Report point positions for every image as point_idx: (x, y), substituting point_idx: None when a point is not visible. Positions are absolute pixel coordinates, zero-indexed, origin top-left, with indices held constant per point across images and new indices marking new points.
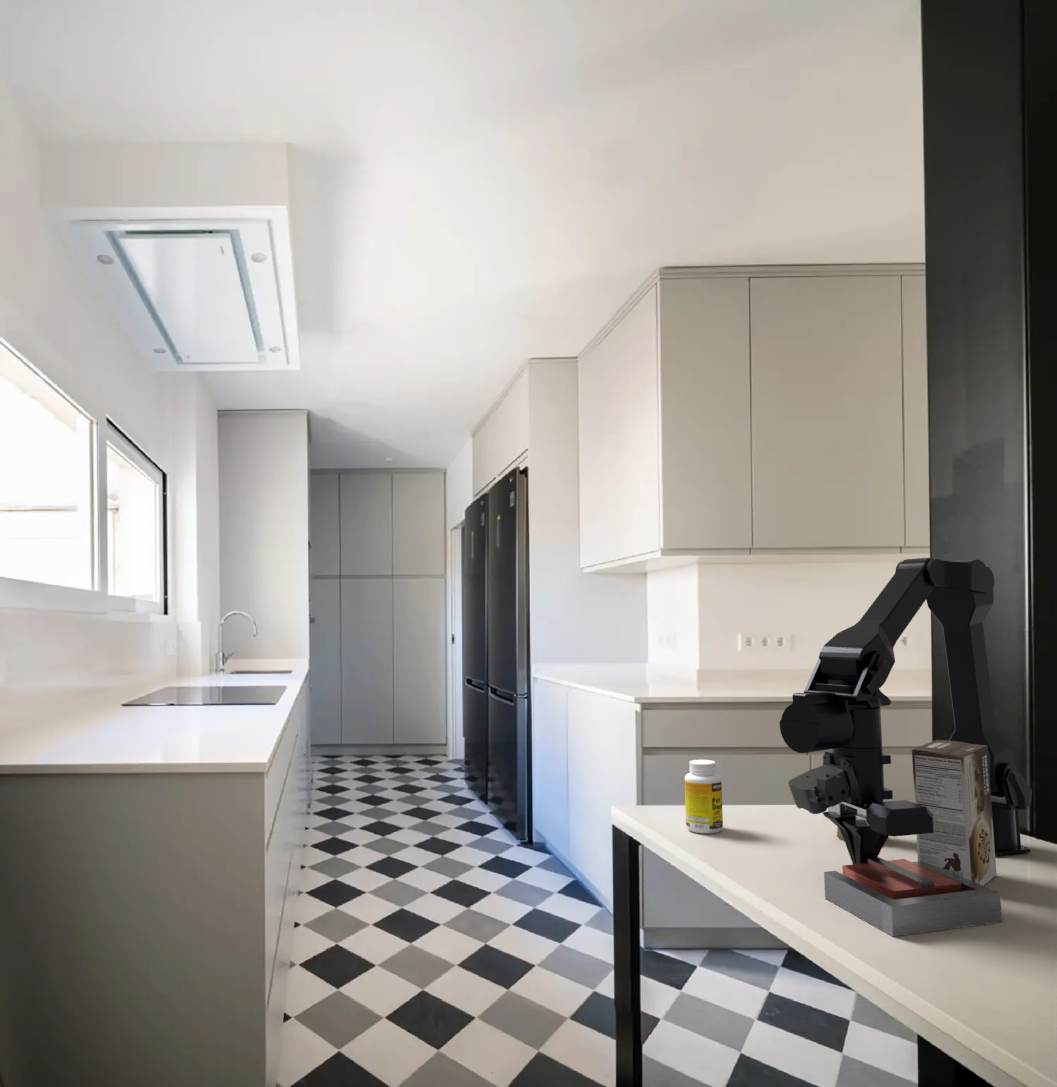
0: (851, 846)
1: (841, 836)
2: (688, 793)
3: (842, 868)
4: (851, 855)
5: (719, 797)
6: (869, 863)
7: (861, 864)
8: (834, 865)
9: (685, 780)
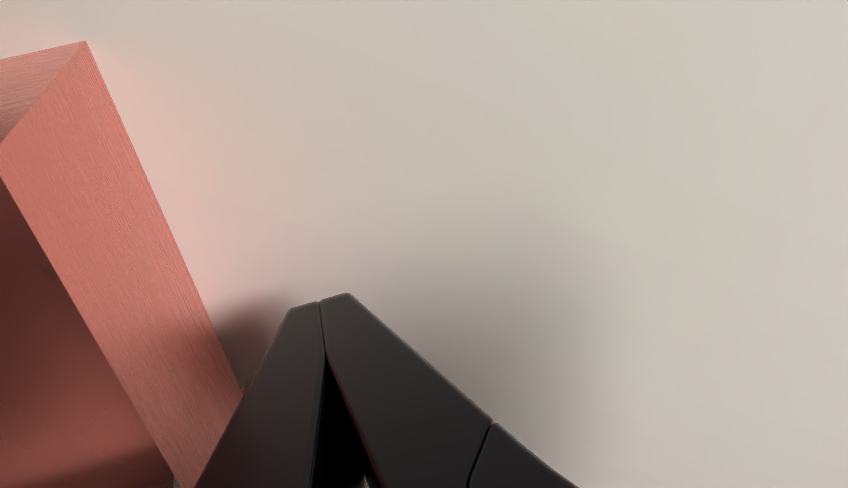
0: (381, 483)
1: None
2: None
3: (4, 140)
4: (399, 383)
5: None
6: (147, 485)
7: (94, 407)
8: (798, 226)
9: None
